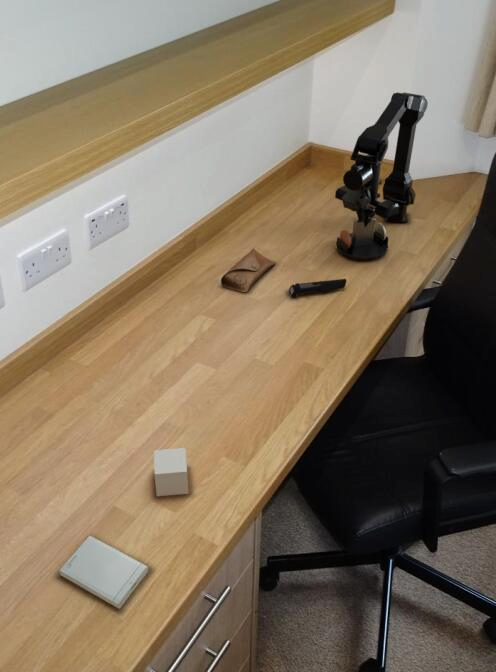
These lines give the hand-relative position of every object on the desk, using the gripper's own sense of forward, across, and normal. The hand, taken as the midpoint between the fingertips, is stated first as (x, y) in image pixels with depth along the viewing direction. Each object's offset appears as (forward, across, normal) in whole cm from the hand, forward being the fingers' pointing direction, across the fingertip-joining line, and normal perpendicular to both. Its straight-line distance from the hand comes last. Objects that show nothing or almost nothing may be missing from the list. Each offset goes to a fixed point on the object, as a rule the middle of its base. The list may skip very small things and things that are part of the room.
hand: (363, 227), depth 203 cm
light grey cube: (+8, +34, -96) cm, 102 cm away
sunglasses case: (+8, -12, -34) cm, 37 cm away
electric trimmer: (+8, +6, -26) cm, 28 cm away
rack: (+8, 0, 0) cm, 8 cm away
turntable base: (+8, 0, 0) cm, 8 cm away
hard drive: (+8, +42, -116) cm, 124 cm away
